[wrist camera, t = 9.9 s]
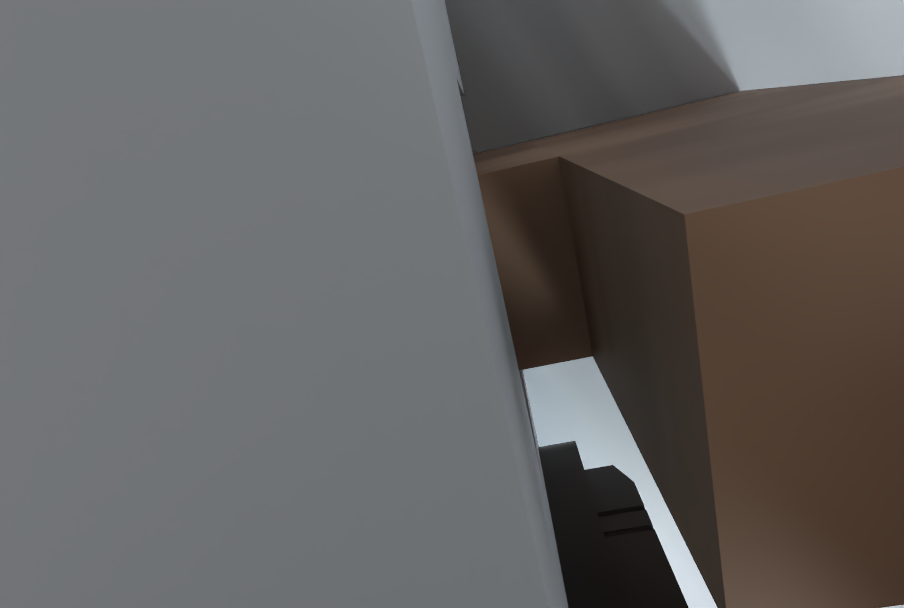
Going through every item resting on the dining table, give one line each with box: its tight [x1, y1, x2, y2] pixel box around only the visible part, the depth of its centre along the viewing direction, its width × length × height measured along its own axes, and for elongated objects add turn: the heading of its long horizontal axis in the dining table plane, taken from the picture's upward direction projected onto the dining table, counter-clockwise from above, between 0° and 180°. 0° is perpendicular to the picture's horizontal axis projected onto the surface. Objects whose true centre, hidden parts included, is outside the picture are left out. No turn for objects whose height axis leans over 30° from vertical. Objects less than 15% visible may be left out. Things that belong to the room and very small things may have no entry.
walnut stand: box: [473, 75, 904, 608], centre depth 7 cm, size 12×2×8 cm, turn 103°
